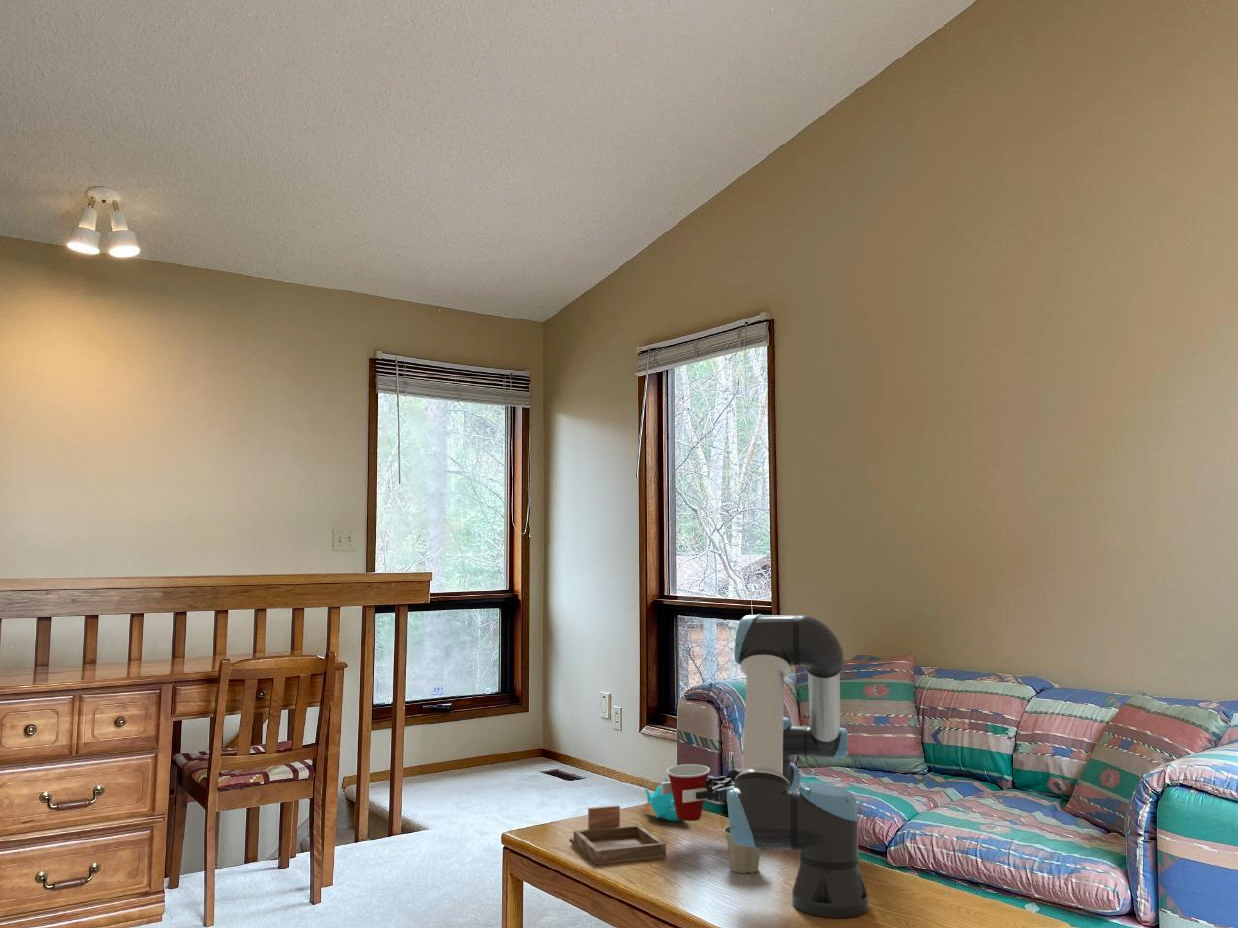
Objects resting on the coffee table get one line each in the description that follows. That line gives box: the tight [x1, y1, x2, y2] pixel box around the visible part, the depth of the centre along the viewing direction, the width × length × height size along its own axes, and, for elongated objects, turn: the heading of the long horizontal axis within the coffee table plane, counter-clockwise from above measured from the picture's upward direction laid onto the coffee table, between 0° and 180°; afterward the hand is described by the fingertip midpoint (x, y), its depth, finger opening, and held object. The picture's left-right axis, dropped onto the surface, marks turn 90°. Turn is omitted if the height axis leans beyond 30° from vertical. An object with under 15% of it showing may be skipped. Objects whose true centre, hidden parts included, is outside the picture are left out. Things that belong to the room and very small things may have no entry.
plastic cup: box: [666, 763, 711, 822], centre depth 236 cm, size 11×11×12 cm
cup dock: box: [569, 805, 667, 865], centre depth 234 cm, size 21×17×8 cm
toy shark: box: [644, 777, 680, 822], centre depth 261 cm, size 10×18×11 cm, turn 37°
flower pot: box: [722, 825, 762, 874], centre depth 218 cm, size 9×9×9 cm
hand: (672, 792), depth 234 cm, fingers closed on plastic cup, 9 cm apart
